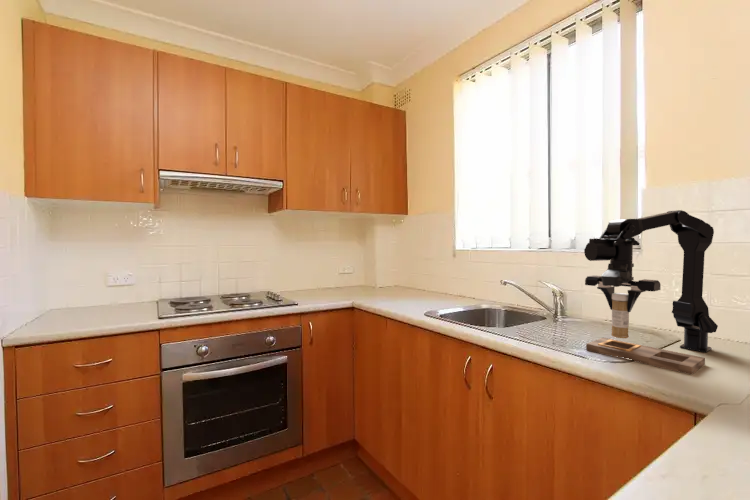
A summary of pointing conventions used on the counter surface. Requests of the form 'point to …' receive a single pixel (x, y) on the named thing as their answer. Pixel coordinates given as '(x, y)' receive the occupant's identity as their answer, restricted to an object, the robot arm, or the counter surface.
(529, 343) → the counter surface
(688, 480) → the counter surface
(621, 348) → the rail
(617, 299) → the sprinkles bottle
